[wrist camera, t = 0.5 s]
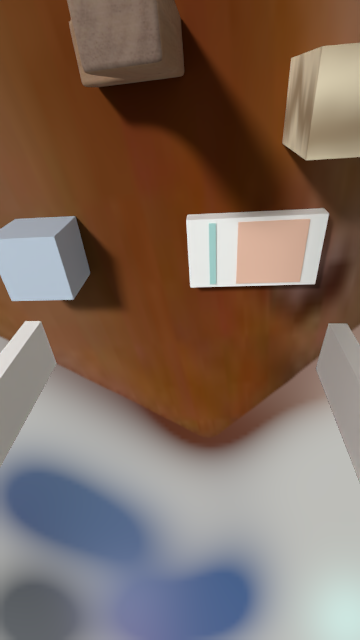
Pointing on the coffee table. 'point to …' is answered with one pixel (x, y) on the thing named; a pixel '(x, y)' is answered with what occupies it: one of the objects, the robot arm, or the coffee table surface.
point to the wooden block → (126, 40)
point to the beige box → (324, 103)
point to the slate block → (42, 259)
